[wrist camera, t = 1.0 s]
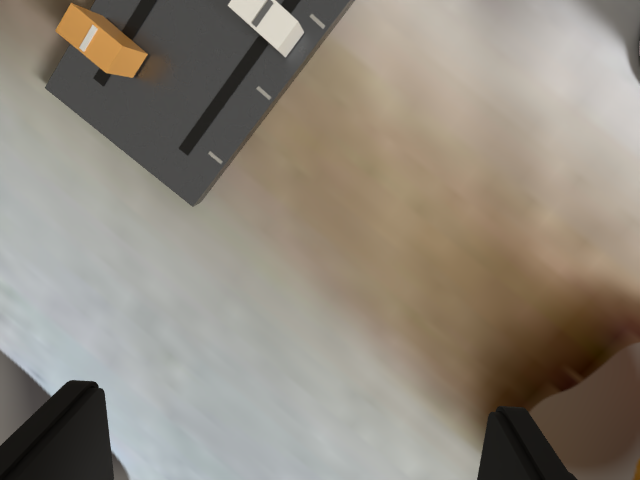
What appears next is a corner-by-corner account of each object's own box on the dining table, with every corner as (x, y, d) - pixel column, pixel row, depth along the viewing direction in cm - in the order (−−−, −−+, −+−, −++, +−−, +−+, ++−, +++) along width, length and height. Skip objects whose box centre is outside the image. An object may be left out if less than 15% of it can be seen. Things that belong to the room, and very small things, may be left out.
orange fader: (102, 15, 34) (70, 2, 30) (147, 54, 34) (121, 45, 30) (88, 40, 34) (54, 30, 30) (132, 78, 35) (105, 72, 31)
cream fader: (260, -8, 33) (247, -26, 29) (304, 32, 33) (298, 20, 29) (241, 18, 33) (227, 5, 29) (285, 57, 34) (276, 49, 30)
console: (211, -167, 32) (202, -186, 30) (368, -18, 34) (369, -26, 32) (60, 89, 38) (43, 87, 36) (200, 202, 40) (192, 207, 38)
